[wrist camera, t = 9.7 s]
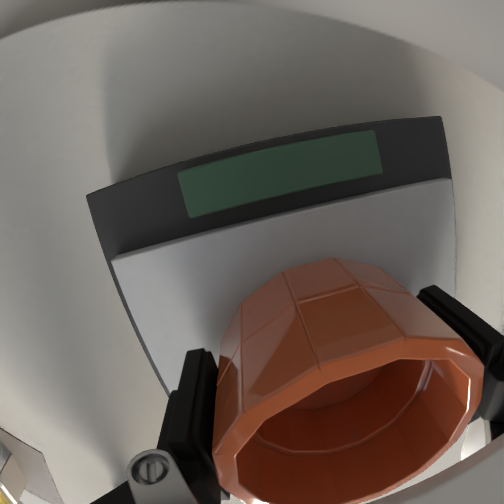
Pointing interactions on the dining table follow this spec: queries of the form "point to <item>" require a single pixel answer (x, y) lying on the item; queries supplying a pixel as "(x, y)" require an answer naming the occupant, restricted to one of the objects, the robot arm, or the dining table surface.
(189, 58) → the dining table surface
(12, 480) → the platform
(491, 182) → the dining table surface
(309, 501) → the dip bowl
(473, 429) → the teapot
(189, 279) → the scale
